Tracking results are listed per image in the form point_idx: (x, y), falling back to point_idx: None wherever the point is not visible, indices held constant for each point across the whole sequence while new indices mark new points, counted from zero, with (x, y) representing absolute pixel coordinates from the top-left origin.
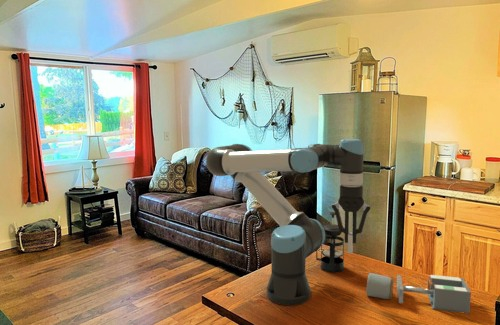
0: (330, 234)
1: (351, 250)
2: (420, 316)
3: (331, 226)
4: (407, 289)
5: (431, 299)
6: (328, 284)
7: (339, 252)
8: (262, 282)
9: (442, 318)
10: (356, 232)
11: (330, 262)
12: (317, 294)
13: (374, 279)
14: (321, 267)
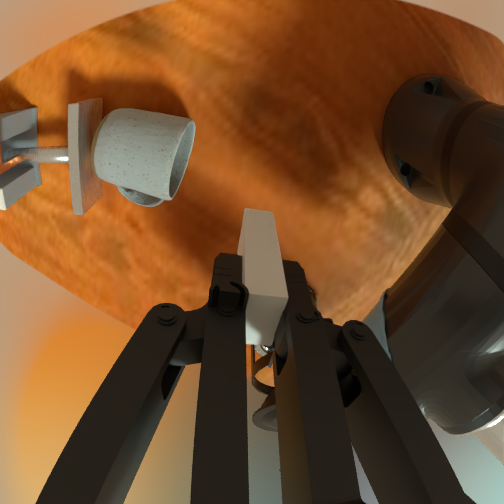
0: None
1: (250, 217)
2: (67, 56)
3: None
4: (65, 147)
5: None
6: (314, 204)
7: (263, 345)
8: None
9: (28, 69)
10: (203, 319)
11: None
12: (359, 135)
13: (153, 137)
14: (315, 299)
